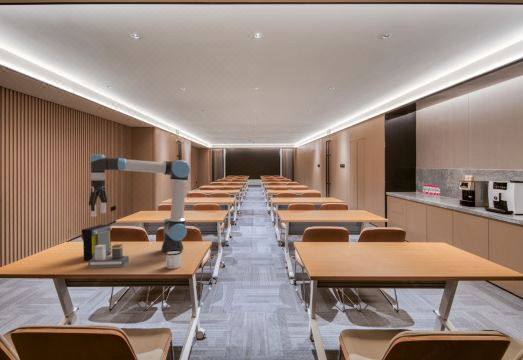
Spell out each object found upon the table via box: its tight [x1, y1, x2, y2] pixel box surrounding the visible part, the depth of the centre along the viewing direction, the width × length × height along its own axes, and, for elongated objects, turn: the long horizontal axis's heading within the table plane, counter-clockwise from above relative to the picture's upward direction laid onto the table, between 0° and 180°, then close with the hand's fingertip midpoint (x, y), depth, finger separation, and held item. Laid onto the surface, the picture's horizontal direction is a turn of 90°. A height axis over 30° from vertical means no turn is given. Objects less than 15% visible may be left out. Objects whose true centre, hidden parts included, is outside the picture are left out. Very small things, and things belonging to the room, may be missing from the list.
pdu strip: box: [87, 255, 130, 269], centre depth 186 cm, size 20×9×4 cm, turn 96°
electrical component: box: [80, 224, 113, 262], centre depth 202 cm, size 18×10×20 cm, turn 168°
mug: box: [164, 250, 183, 270], centre depth 181 cm, size 12×10×9 cm
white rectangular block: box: [95, 245, 106, 260], centre depth 186 cm, size 5×5×11 cm
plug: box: [111, 243, 124, 260], centre depth 186 cm, size 5×5×11 cm
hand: (98, 214), depth 185 cm, fingers open, 13 cm apart
